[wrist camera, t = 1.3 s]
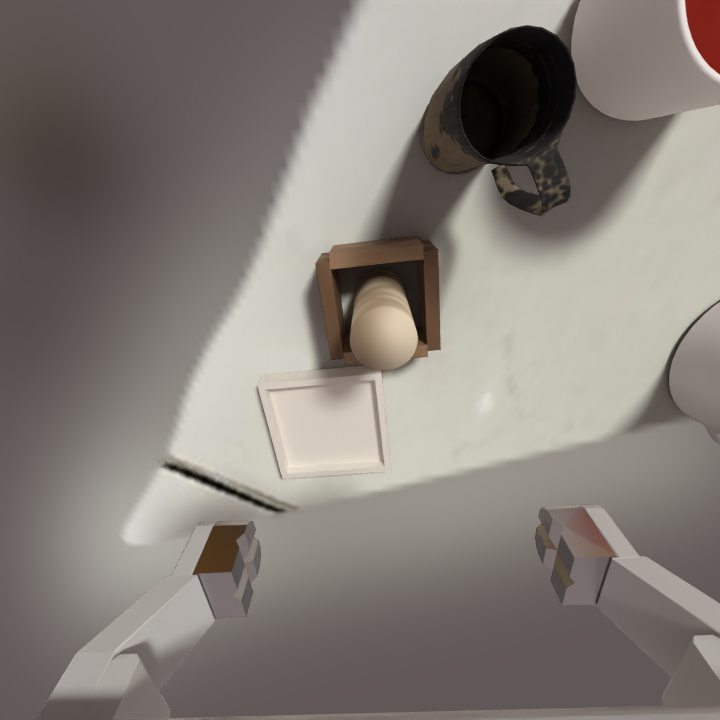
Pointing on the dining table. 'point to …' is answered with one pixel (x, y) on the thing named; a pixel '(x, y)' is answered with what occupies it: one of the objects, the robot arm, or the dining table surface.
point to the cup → (647, 56)
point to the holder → (370, 256)
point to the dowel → (382, 322)
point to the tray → (327, 421)
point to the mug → (506, 114)
